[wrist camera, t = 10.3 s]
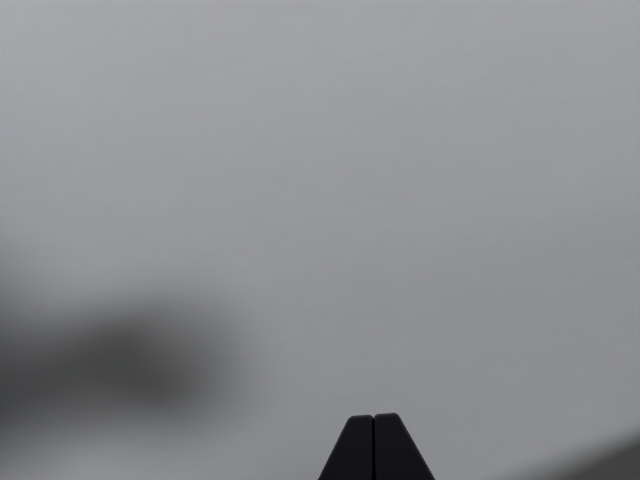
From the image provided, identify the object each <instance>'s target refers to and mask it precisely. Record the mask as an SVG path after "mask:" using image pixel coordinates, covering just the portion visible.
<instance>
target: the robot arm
mask: <svg viewBox="0 0 640 480" xmlns="http://www.w3.org/2000/svg"><path fill="white" fill-rule="evenodd" d="M318 480H435V478H434V477H433V475H432V473H431V471H430V470H429V468H428V466H427V464H426V462H425V461H424V459H423V457H422V455H421V454H420V452H419V450H418V448H417V447H416V445H415V443H414V441H413V440H412V438H411V436H410V434H409V432H408V431H407V429H406V427H405V425H404V424H403V422H402V420H401V418H400V417H399V415H398V414H396V413H386V414H377V415H375V417H374V418H373V416H371V415H359V416H351V417H350V418H349V419H348V421H347V422H346V424H345V426H344V428H343V430H342V432H341V434H340V436H339V438H338V440H337V442H336V444H335V447H334V449H333V451H332V453H331V455H330V457H329V459H328V461H327V463H326V465H325V467H324V469H323V471H322V473H321V475H320V477H319V479H318Z"/></svg>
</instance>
